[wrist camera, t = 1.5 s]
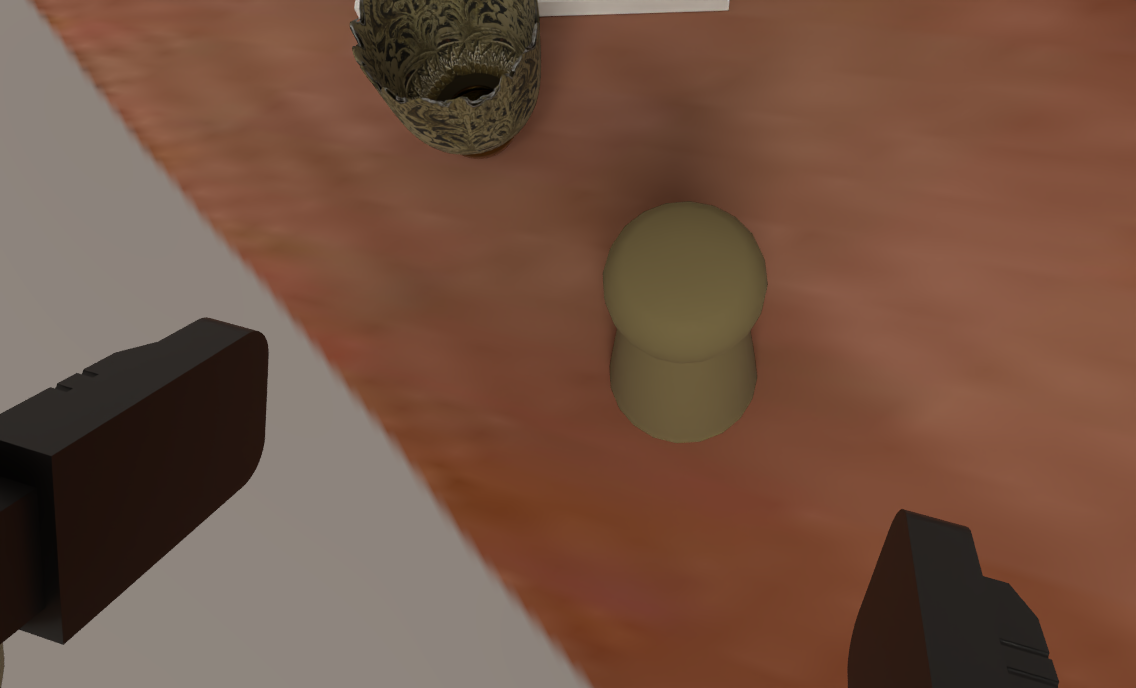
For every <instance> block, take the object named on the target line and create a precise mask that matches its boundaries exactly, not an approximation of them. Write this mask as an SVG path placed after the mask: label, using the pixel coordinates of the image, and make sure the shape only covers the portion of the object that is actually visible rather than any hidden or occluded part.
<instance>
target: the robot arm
mask: <svg viewBox="0 0 1136 688" xmlns="http://www.w3.org/2000/svg"><path fill="white" fill-rule="evenodd" d="M267 378H268V344H267V340H266V338H265V336H264V335H263V334H262V333H260V332H259V331H255V330H252V329H248V328H244V327H241V326H237V325H233V324H230V323H226V322H222V321H219V320H215V319H211V318H201V319H199V320H197V321H195V322H193V323H191V324H189V325H188V326H186V327H184V328H182V329H180V330H179V331H177V332H175V333H173V334H171V335H169V336H168V337H166V338H164V339H162V340H160V341H159V342H155V343H152V344H147V345H143V346H140V347H136V348H132V349H128V350H124V351H120V352H116V353H114V354H112V355H110V356H108V357H106V358H104V359H102V360H101V361H99V362H97V363H95V364H93V365H91V366H90V367H87V368H85V369H84V370H83V373H82V374H78V373H76V374H74V375H73V376H71V377H69V378H67V379H65V380H63V381H61V382H59V383H57V387H56V388H55V389H54V388H48V389H46V390H44V391H42V392H40V393H39V394H37V395H35V396H33V397H31V398H29V399H28V400H25V401H24V402H22V403H20V404H18V405H16V406H14V407H13V408H11V409H9V410H7V411H5V412H3V413H1V414H0V688H1V685H2V678H3V672H4V650H3V642H4V641H5V640H6V639H7V638H9V637H10V636H11V635H12V634H13V633H15V632H16V631H17V630H22V631H25V632H28V633H31V634H34V635H37V636H39V637H42V638H45V639H48V640H51V641H54V642H57V643H60V644H63V645H64V644H65V643H66V642H67V641H68V640H69V639H70V638H72V637H73V636H74V635H75V634H76V633H77V632H78V631H79V630H81V629H82V628H83V627H84V626H85V625H86V624H87V623H88V622H90V621H91V620H92V619H93V618H94V617H95V616H97V614H99V613H100V612H101V611H102V610H103V609H104V608H106V607H107V606H108V605H109V604H110V603H111V602H112V601H113V600H115V599H116V598H117V597H118V596H119V595H120V594H122V593H123V592H124V591H125V590H126V589H127V588H128V587H129V586H130V585H132V584H133V583H134V582H135V581H136V580H137V579H138V578H140V577H141V576H142V575H143V574H144V573H145V572H146V571H147V570H149V569H150V568H151V567H152V566H153V565H154V564H155V563H157V562H158V561H159V560H160V559H161V558H162V557H164V556H165V555H166V554H167V553H168V552H169V551H170V550H171V549H173V548H174V547H175V546H176V545H177V544H178V543H179V542H180V541H182V540H183V539H184V538H185V537H186V536H187V535H188V534H190V533H191V532H192V531H193V530H194V529H195V528H196V527H198V526H199V525H200V524H201V523H202V522H203V521H204V520H205V519H207V518H208V517H209V516H210V515H211V514H212V513H213V512H215V511H216V510H217V509H218V508H219V507H220V506H221V505H222V504H224V503H225V502H226V501H227V500H228V499H229V498H231V497H232V496H233V495H234V494H235V493H236V492H237V491H238V490H240V489H241V488H242V487H243V486H244V485H245V484H246V483H247V482H248V480H249V479H250V478H251V476H252V475H253V473H254V471H255V470H256V468H257V465H258V463H259V461H260V458H261V455H262V451H263V447H264V442H265V423H266V402H267ZM1048 656H1049V650H1048V647H1047V644H1046V641H1045V638H1044V635H1043V632H1042V629H1041V626H1040V623H1039V620H1038V618H1037V617H1036V615H1035V614H1034V613H1033V612H1032V611H1031V609H1030V608H1029V607H1028V606H1027V605H1026V603H1025V602H1024V601H1023V600H1022V599H1021V598H1020V596H1019V595H1018V594H1017V593H1016V592H1015V590H1014V589H1013V588H1012V587H1011V586H1010V584H1009V583H1005V582H1002V581H998V580H995V579H991V578H988V577H984V576H983V575H982V571H981V568H980V564H979V560H978V556H977V553H976V549H975V545H974V541H973V537H972V534H971V531H970V529H969V528H968V527H966V526H962V525H959V524H955V523H951V522H948V521H944V520H940V519H937V518H933V517H929V516H926V515H922V514H918V513H915V512H911V511H907V510H904V509H901V510H900V511H899V512H898V513H897V514H896V516H895V518H894V520H893V522H892V524H891V527H890V529H889V532H888V534H887V537H886V540H885V543H884V545H883V548H882V551H881V553H880V556H879V559H878V561H877V564H876V567H875V570H874V572H873V575H872V578H871V580H870V583H869V586H868V589H867V591H866V594H865V597H864V599H863V602H862V605H861V608H860V610H859V613H858V616H857V619H856V622H855V626H854V630H853V634H852V638H851V643H850V649H849V657H848V688H1058V683H1059V680H1058V677H1057V674H1056V671H1055V668H1054V665H1053V662H1052V660H1051V659H1048Z"/></svg>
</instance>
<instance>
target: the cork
mask: <svg viewBox="0 0 1136 688" xmlns="http://www.w3.org/2000/svg"><path fill="white" fill-rule="evenodd" d="M767 285H768V282H767V274H766V266H765V260H764V257H763V255H762V253H761V251H760V249H759V247H758V245H757V243H756V241H755V239H754V237H753V235H752V233H751V232H750V231H749V230H748V229H747V228H746V227H745V226H744V225H743V224H742V223H741V222H740V221H739V220H738V219H737V218H736V217H734V216H733V215H731V214H729V213H727V212H725V211H723V210H721V209H719V208H717V207H715V206H712V205H707V204H702V203H697V202H691V201H688V202H676V203H666V204H663V205H661V206H658V207H655V208H653V209H650V210H648V211H645V212H643V213H642V214H640V215H639V216H638V217H637V218H635V219H634V220H633V221H631V222H630V223H629V224H627V225H626V226H625V227H624V229H623V230H622V231H621V233H620V234H619V236H618V237H617V239H616V240H615V241H614V243H613V244H612V246H611V248H610V251H609V254H608V257H607V261H606V264H605V268H604V271H603V286H604V299H605V303H606V306H607V308H608V310H609V313H610V315H611V318H612V320H613V322H614V325H615V326H616V327H617V332H616V337H615V342H614V347H613V352H612V357H611V362H610V381H611V389H612V392H613V394H614V397H615V399H616V401H617V404H618V406H619V408H620V410H621V411H622V412H623V413H624V414H625V415H626V417H627V418H628V419H629V420H630V421H631V422H632V424H633V425H634V426H636V427H638V428H639V429H641V430H642V431H644V432H646V433H647V434H649V435H651V436H652V437H654V438H658V439H662V440H666V441H670V442H674V443H685V442H700V441H703V440H706V439H708V438H711V437H713V436H716V435H719V434H721V433H723V432H724V431H725V430H727V429H728V428H729V427H730V426H731V425H733V424H734V423H735V422H736V421H738V420H739V419H740V418H741V416H742V415H743V413H744V411H745V410H746V408H747V407H748V405H749V403H750V402H751V400H752V398H753V393H754V389H755V384H756V380H757V372H756V364H755V355H754V349H753V343H752V337H751V331H750V330H751V329H752V327H753V325H754V324H755V322H756V321H757V319H758V318H759V316H760V314H761V311H762V307H763V303H764V298H765V294H766V290H767Z"/></svg>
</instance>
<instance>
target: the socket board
mask: <svg viewBox="0 0 1136 688" xmlns="http://www.w3.org/2000/svg"><path fill="white" fill-rule="evenodd" d="M359 1H360V0H356V2H355V8H354V9H355V11H356V13H357V15H358V17H359V19H360V12H359ZM537 1H538V8H539V16H567V15H599V14H631V13H663V12H695V11H726V10H729V0H537Z"/></svg>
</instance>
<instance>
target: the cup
mask: <svg viewBox="0 0 1136 688" xmlns="http://www.w3.org/2000/svg"><path fill="white" fill-rule="evenodd" d="M359 12H360V21H359V22H356V21H357V20H358V19H359V18H358V19H355V20H354V21H352V22H350V29H351V31H352V33H353V35H354V36H355V38H356V40H357V42H358V44H357V45H356V46H353V47H352V50H353V54H354V57H355V59H356V61H357V63H358V64H359V65H360V66H361V67H360V68H361V69H362V71H363V72H364V74H365V75H366V76H367V78H368V79H369V80H370V81H371V83H372V84H373V85H374V87H375V88H376V90H377V91H378V92H379V94H380V95H381V96H382V98H383V99H384V101H385V102H386V103H387V105H388V106H389V107H390V109H391V110H392V111H393V112H394V114H395V115H396V116H397V117H398V119H399V120H400V121H401V122H402V123H403V124H404V126H405V127H406V128H407V129H408V130H409V131H410V132H411V133H412V134H414V135H415V136H416V137H417V138H418V139H420V140H421V141H423V142H424V143H425V144H427V145H429V146H431V147H433V148H436V149H438V150H441V151H443V152H447V153H452V154H460V155H463V156H465V157H469V158H474V159H482V158H488V157H491V156H494V155H496V154H498V153H500V152H501V151H503V150H504V149H505V148H506V147H507V146H508V145H509V144H510V143H511V141H512V140H513V138H514V136H515V135H516V134H517V133H518V132H519V131H520V130H521V129H522V128H523V126H524V125H525V124H526V122H527V121H528V119H529V117H530V116H531V114H532V112H533V110H534V107H535V105H536V101H537V98H538V93H539V88H540V78H541V48H540V23H539V8H538V1H537V0H360V1H359Z"/></svg>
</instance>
